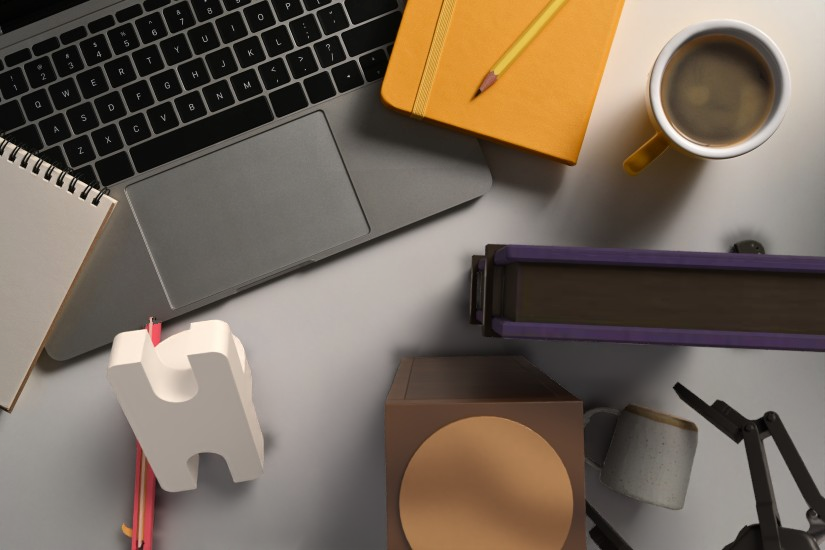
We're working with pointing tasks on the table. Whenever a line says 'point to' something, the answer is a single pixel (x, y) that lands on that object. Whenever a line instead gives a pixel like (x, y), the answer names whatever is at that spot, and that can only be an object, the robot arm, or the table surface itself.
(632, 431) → the ceramic mug
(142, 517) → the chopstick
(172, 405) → the white slotted bracket
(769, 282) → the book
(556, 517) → the brown square coaster
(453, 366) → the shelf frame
